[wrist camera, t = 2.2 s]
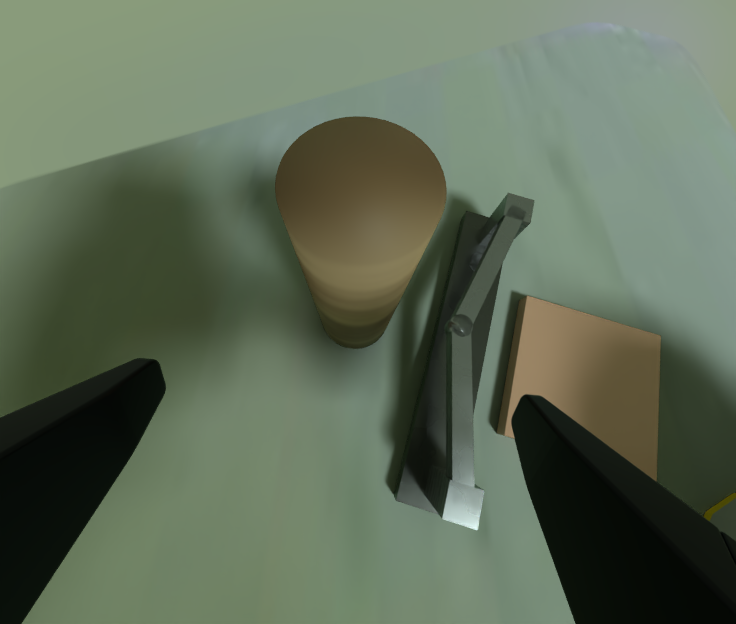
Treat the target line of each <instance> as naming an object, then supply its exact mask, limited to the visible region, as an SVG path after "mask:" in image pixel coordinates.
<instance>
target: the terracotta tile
mask: <svg viewBox="0 0 736 624" xmlns="http://www.w3.org/2000/svg"><path fill="white" fill-rule="evenodd" d="M660 348H661V336H660V335H657V334H653V333H650V332H647V331H643V330H640V329H637V328H633V327H630V326H627V325H623V324H620V323H617V322H613V321H610V320H607V319H603V318H600V317H597V316H593V315H590V314H587V313H583V312H580V311H577V310H573V309H570V308H567V307H563V306H560V305H557V304H553V303H550V302H547V301H543V300H540V299H537V298H533V297H530V296H526V297H524V298H522V299H521V300H519V305H518V310H517V316H516V322H515V328H514V334H513V340H512V346H511V352H510V358H509V363H508V369H507V375H506V381H505V387H504V393H503V399H502V405H501V410H500V416H499V422H498V428H497V434H500V435H504V436H507V437H510V438H513V439H515V438H514V434H513V430H512V425H511V419H512V415H513V413H514V411H515V409H516V407H517V405H518V402H519V400H520V398H521V397H522V396H523V395H525V394H531V395H540V396H542V397H544V398H545V399H546V400H548V401H549V402H551V403H552V404H553V405H555V406H556V407H557V408H559V409H560V410H561V411H563V412H564V413H565V414H567V415H568V416H569V417H571V418H572V419H573V420H575V421H576V422H577V423H579V424H580V425H581V426H583V427H584V428H585V429H587V430H588V431H589V432H591V433H592V434H593V435H595V436H596V437H597V438H599V439H600V440H601V441H603V442H604V443H605V444H607V445H608V446H609V447H611V448H612V449H613V450H615V451H616V452H617V453H619V454H620V455H621V456H623V457H624V458H625V459H627V460H628V461H629V462H631V463H632V464H633V465H635V466H636V467H637V468H639V469H640V470H642V471H643V472H644V473H646V474H647V475H648V476H650V477H651V478H652V479H654V480H655V481H656V482H657V451H658V417H659V382H660Z"/></svg>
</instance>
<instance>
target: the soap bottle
mask: <svg viewBox="0 0 736 624" xmlns="http://www.w3.org/2000/svg"><path fill="white" fill-rule="evenodd" d="M703 517H704V518H706V519H707V520H708V521H710V522H711V523H712V524H714V525H715V526H716V527H718V529H719V531H722V532H725V533H726V534H727V535H729V536H730V537H731V538H733V539H734V540H735V541H736V493H732V494H731V495H729V496H728V497H726V498H725V499H723V500H722V501H721V502H719V503H718V504H716V505H715V506H713V507H712V508H710V509H709V510H707V511H706V512H705V514H704V516H703Z"/></svg>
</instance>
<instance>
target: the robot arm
mask: <svg viewBox="0 0 736 624" xmlns="http://www.w3.org/2000/svg"><path fill="white" fill-rule="evenodd" d="M165 390H166V384H165V381H164V377H163V374H162V370H161V367H160V364H159V362H158V361H157V360H154V359H145V358H138V359H134V360H132V361H130V362H127V363H125V364H123V365H121V366H118V367H116V368H114V369H111V370H109V371H107V372H104V373H102V374H100V375H97V376H95V377H93V378H91V379H88V380H86V381H84V382H81V383H79V384H77V385H74V386H72V387H70V388H67V389H65V390H63V391H61V392H58V393H56V394H54V395H51V396H49V397H47V398H44V399H42V400H40V401H37V402H35V403H33V404H31V405H28V406H26V407H24V408H21V409H19V410H17V411H14V412H12V413H10V414H7V415H5V416H3V417H1V418H0V624H22V622H23V621H24V619H25V618H26V616H27V615H28V613H29V612H30V610H31V608H32V607H33V605H34V604H35V602H36V601H37V599H38V598H39V596H40V595H41V593H42V592H43V590H44V589H45V587H46V586H47V584H48V583H49V581H50V579H51V578H52V576H53V575H54V573H55V572H56V570H57V569H58V567H59V566H60V564H61V563H62V561H63V560H64V558H65V557H66V555H67V554H68V552H69V551H70V549H71V547H72V546H73V544H74V543H75V541H76V540H77V538H78V537H79V535H80V534H81V532H82V531H83V529H84V528H85V526H86V525H87V523H88V522H89V520H90V519H91V517H92V515H93V514H94V512H95V511H96V509H97V508H98V506H99V505H100V503H101V502H102V500H103V499H104V497H105V496H106V494H107V493H108V491H109V490H110V488H111V487H112V485H113V483H114V482H115V480H116V479H117V477H118V476H119V474H120V473H121V471H122V470H123V468H124V467H125V465H126V464H127V462H128V460H129V459H130V457H131V456H132V454H133V452H134V451H135V449H136V447H137V445H138V443H139V442H140V440H141V438H142V436H143V434H144V432H145V430H146V428H147V426H148V424H149V423H150V421H151V419H152V417H153V415H154V413H155V411H156V409H157V407H158V405H159V404H160V402H161V400H162V398H163V396H164V394H165ZM511 425H512V430H513V434H514V438H515V442H516V446H517V450H518V454H519V458H520V462H521V466H522V470H523V474H524V478H525V482H526V485H527V488H528V491H529V494H530V497H531V500H532V503H533V506H534V509H535V512H536V514H537V517H538V520H539V523H540V526H541V528H542V531H543V534H544V537H545V540H546V542H547V545H548V548H549V551H550V554H551V556H552V559H553V562H554V565H555V568H556V570H557V573H558V576H559V579H560V582H561V584H562V587H563V590H564V593H565V596H566V598H567V601H568V604H569V607H570V610H571V612H572V615H573V618H574V621H575V624H736V541H735V540H734V539H733V538H731V537H730V536H729V535H727V534H726V533H725V532H722V531H719V529H718V527H716V526H715V525H714V524H712V523H711V522H710V521H708V520H707V519H706V518H704V517H703V516H702V515H700V514H699V513H698V512H696V511H695V510H694V509H692V508H691V507H690V506H688V505H687V504H686V503H684V502H683V501H682V500H680V499H679V498H678V497H676V496H675V495H674V494H672V493H671V492H670V491H668V490H667V489H666V488H664V487H663V486H662V485H660V484H659V483H658V482H656V481H655V480H654V479H652V478H651V477H650V476H648V475H647V474H646V473H644V472H643V471H642V470H640V469H639V468H637V467H636V466H635V465H633V464H632V463H631V462H629V461H628V460H627V459H625V458H624V457H623V456H621V455H620V454H619V453H617V452H616V451H615V450H613V449H612V448H611V447H609V446H608V445H607V444H605V443H604V442H603V441H601V440H600V439H599V438H597V437H596V436H595V435H593V434H592V433H591V432H589V431H588V430H587V429H585V428H584V427H583V426H581V425H580V424H579V423H577V422H576V421H575V420H573V419H572V418H571V417H569V416H568V415H567V414H565V413H564V412H563V411H561V410H560V409H559V408H557V407H556V406H555V405H553V404H552V403H551V402H549V401H548V400H546V399H545V398H544V397H542V396H540V395H531V394H525V395H523V396H522V397H521V398H520V400H519V402H518V405H517V407H516V409H515V411H514V413H513V415H512V419H511Z"/></svg>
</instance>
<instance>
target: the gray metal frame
mask: <svg viewBox="0 0 736 624" xmlns="http://www.w3.org/2000/svg"><path fill="white" fill-rule="evenodd" d="M533 206H534V200H531V199H528V198H524V197H521V196H517V195H514V194H510V193H508V194H507V195H506V196H505V198H504V199H503V200H502V202H501V203H500V204H499V206H498V207H497V208H496V210H495V211H494V212H493V213H492V215H491V216H490V217H485V216H482V215H478V214H475V213H472V212H468V211H466V213H465V214H464V216H463V218H462V220H461V224H460V228H459V232H458V236H457V240H456V244H455V248H454V252H453V256H452V260H451V265H450V269H449V273H448V277H447V281H446V285H445V289H444V293H443V297H442V301H441V305H440V309H439V313H438V317H437V321H436V325H435V329H434V333H433V337H432V342H431V346H430V350H429V354H428V358H427V362H426V366H425V370H424V374H423V378H422V382H421V386H420V390H419V394H418V398H417V402H416V406H415V410H414V414H413V419H412V423H411V427H410V431H409V435H408V439H407V443H406V447H405V451H404V455H403V459H402V463H401V467H400V471H399V475H398V479H397V483H396V487H395V492H394V497H395V499H396V501H399V502H402V503H405V504H408V505H411V506H414V507H417V508H420V509H423V510H426V511H429V512H432V513H436V514H439V515H440V516H441V518H442V519H444V520H447V521H451V522H454V523H457V524H460V525H463V526H466V527H469V528H472V529H475V530H478V525H479V519H480V513H481V508H482V502H483V496H484V490H483V489H481V488H480V487H478V486H477V485H475V484H474V444H473V413H474V408H475V403H476V398H477V392H478V387H479V382H480V377H481V372H482V367H483V361H484V356H485V351H486V346H487V341H488V336H489V331H490V325H491V320H492V315H493V310H494V305H495V300H496V294H497V289H498V284H499V279H500V274H501V269H502V263H503V261H504V259H505V257H506V254H507V252H508V250H509V248H510V246H511V244H512V242H513V240H514V239H515V238H516V237H517V236H518V235H519V234H520V233H521V232H522V231H523V230H524V229H525V228H526V227H527V226H528V225H529V224H530V223H531V217H532V211H533Z"/></svg>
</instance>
